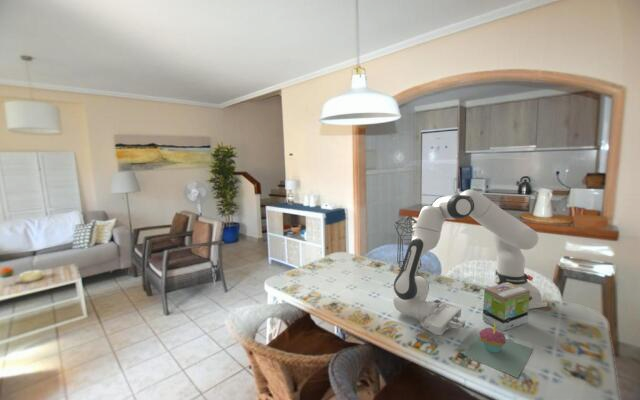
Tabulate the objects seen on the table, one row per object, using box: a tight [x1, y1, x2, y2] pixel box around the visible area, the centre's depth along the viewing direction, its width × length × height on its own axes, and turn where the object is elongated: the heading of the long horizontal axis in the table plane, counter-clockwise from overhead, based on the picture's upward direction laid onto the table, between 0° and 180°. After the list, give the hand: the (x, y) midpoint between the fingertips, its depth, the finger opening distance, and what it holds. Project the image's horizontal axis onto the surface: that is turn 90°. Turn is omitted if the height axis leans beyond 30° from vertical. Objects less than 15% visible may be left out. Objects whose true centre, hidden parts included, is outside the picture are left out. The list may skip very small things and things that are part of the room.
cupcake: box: [478, 321, 507, 353], centre depth 109 cm, size 9×8×12 cm
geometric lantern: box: [393, 215, 423, 275], centre depth 182 cm, size 16×16×35 cm
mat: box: [462, 335, 534, 379], centre depth 109 cm, size 20×20×1 cm
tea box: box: [482, 282, 530, 332], centre depth 125 cm, size 15×10×15 cm, turn 114°
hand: (463, 325), depth 116 cm, fingers closed
